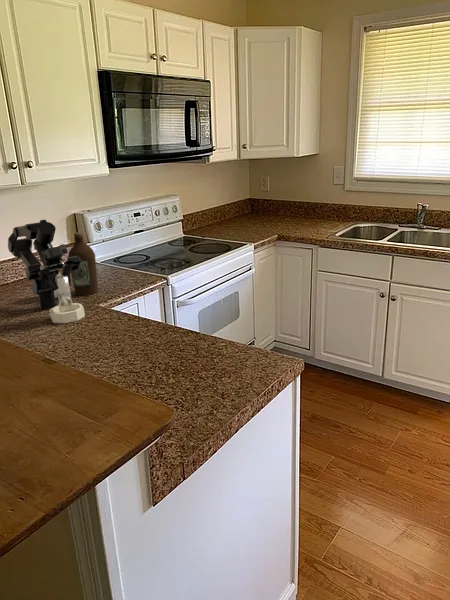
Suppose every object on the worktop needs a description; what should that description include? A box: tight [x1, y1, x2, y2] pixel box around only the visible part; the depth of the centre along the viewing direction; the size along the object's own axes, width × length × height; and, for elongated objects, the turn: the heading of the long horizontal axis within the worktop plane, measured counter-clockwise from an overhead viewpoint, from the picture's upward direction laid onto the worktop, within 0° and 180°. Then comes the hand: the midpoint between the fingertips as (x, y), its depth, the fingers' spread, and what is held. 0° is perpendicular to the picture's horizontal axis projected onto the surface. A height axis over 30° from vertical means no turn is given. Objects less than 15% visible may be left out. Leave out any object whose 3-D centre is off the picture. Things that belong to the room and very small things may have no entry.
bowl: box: [49, 302, 86, 324], centre depth 171 cm, size 11×11×4 cm
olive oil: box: [67, 232, 99, 296], centre depth 197 cm, size 11×11×25 cm
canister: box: [55, 275, 73, 306], centre depth 168 cm, size 4×4×10 cm
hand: (63, 287), depth 167 cm, fingers closed on canister, 4 cm apart
